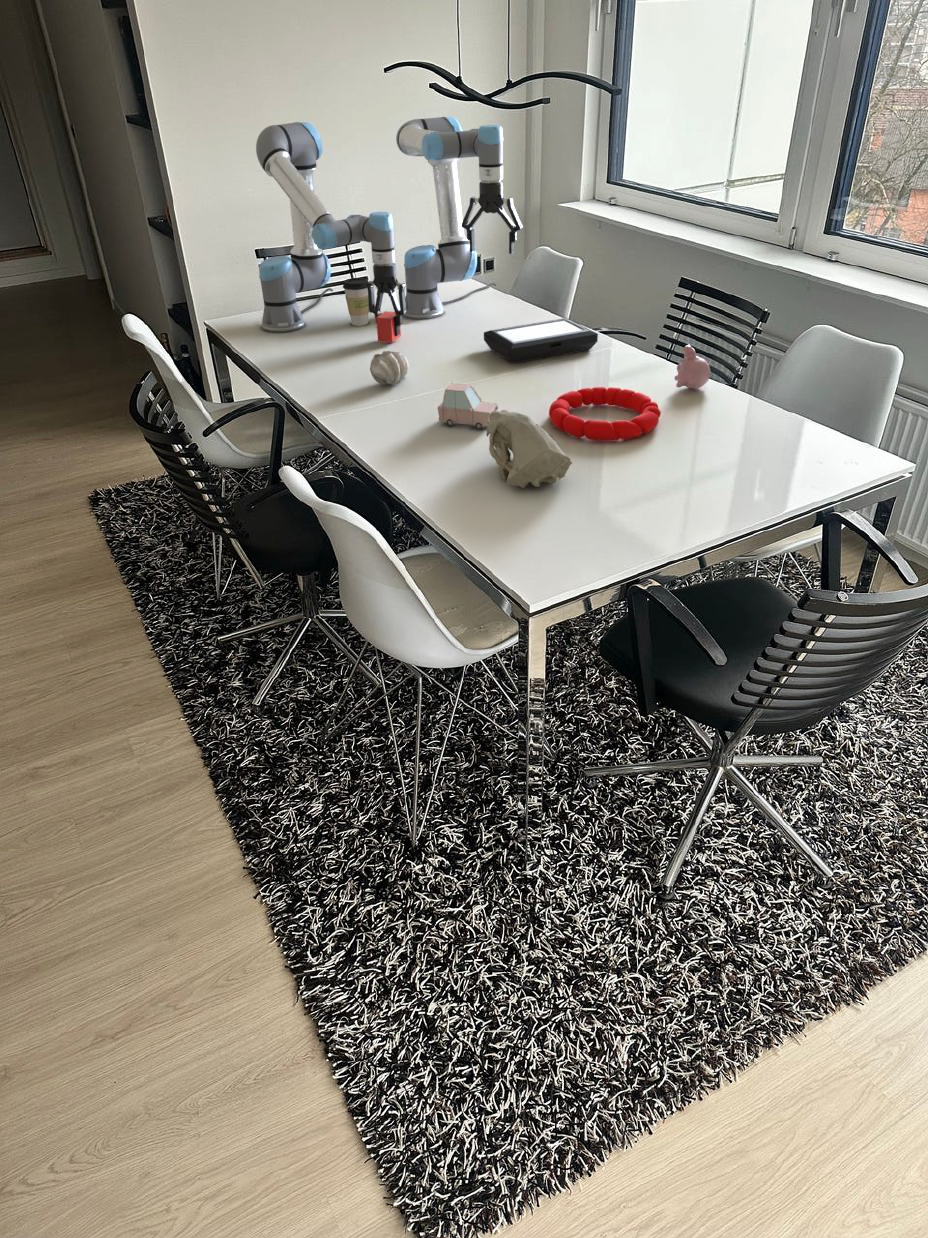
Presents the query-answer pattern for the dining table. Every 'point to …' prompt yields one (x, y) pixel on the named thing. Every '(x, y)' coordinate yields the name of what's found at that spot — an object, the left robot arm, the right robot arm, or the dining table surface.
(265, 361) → the dining table surface
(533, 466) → the animal skull
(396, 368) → the seashell
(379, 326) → the block
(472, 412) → the toy car
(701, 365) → the figurine
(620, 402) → the decorative ring
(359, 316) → the coffee cup
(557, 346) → the electronic device
